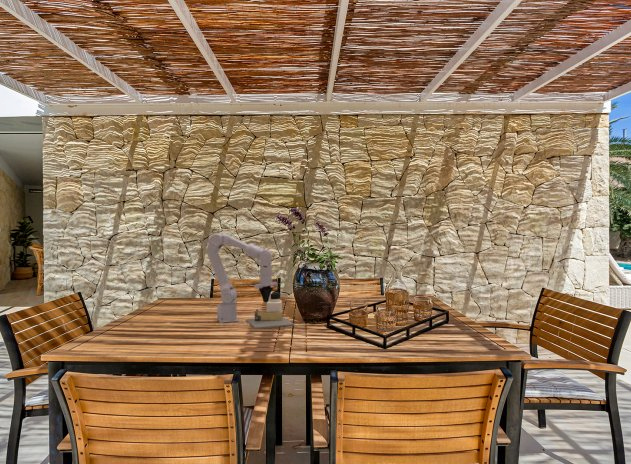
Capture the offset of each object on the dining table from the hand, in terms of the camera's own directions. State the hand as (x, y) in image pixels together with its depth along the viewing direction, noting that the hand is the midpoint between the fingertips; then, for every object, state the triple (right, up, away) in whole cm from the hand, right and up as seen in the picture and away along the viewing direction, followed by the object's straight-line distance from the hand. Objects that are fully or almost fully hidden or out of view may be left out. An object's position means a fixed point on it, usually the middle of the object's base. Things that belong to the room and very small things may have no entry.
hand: (265, 301), depth 230 cm
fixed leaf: (+1, -9, 0) cm, 9 cm away
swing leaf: (+1, -8, -1) cm, 9 cm away
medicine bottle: (+3, -9, +16) cm, 19 cm away
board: (+2, -10, -4) cm, 11 cm away
